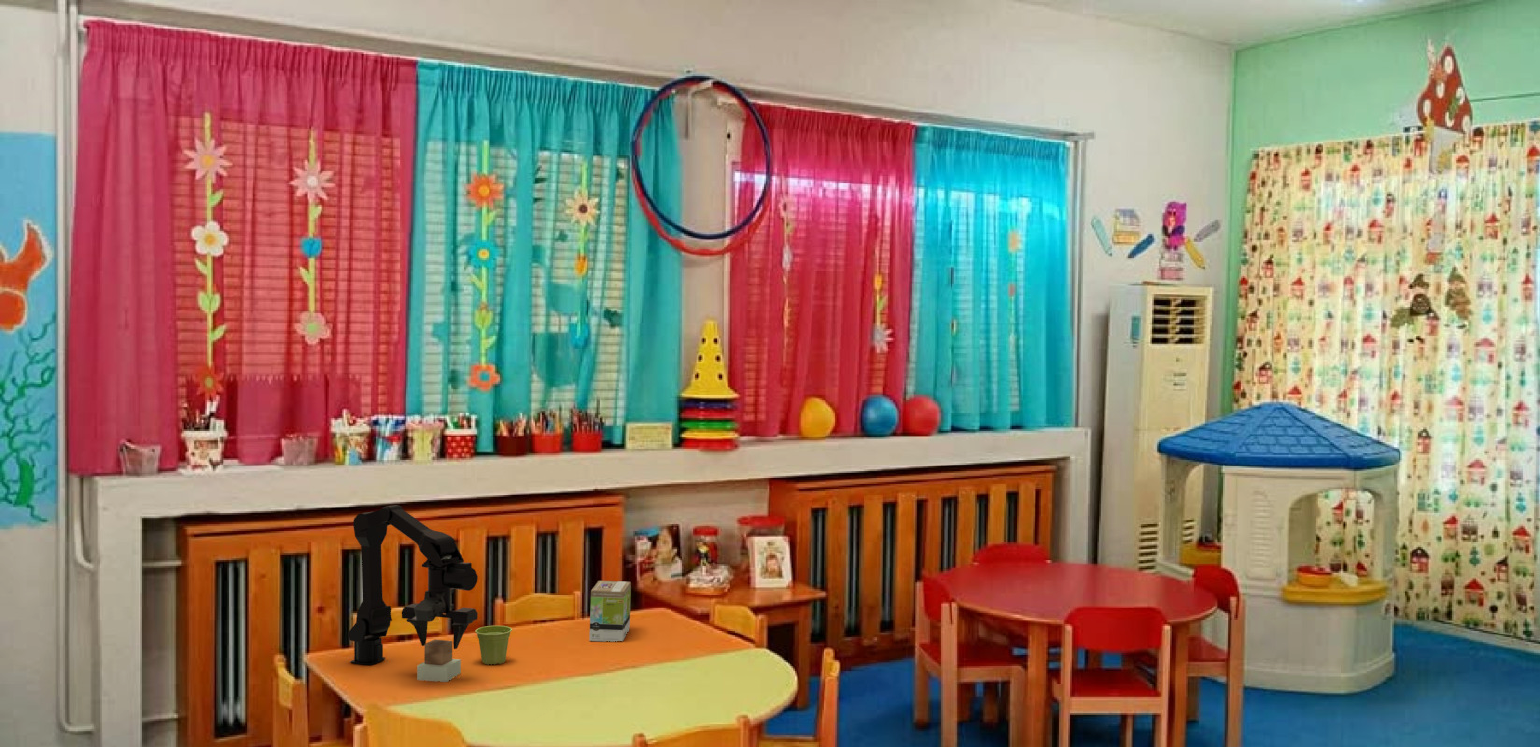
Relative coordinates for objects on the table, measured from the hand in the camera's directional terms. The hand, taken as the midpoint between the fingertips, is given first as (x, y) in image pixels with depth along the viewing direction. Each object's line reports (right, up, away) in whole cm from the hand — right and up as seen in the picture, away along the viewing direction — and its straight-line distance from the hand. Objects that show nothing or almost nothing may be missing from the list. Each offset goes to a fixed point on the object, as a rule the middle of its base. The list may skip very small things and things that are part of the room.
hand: (439, 647), depth 324 cm
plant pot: (+11, -7, +15) cm, 20 cm away
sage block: (0, -8, 0) cm, 8 cm away
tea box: (+38, -7, +45) cm, 59 cm away
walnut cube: (0, -4, +1) cm, 4 cm away
